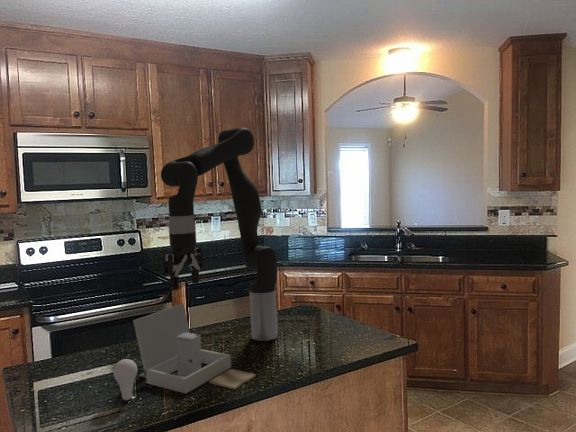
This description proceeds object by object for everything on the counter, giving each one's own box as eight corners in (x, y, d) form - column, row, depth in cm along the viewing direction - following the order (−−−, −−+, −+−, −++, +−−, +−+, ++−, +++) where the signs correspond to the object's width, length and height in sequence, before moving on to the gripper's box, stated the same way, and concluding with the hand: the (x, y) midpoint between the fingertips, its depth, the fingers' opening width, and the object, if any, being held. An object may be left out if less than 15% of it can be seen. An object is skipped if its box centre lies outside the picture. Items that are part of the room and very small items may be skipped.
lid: (193, 347, 157) (190, 347, 158) (183, 303, 157) (180, 303, 158) (145, 369, 140) (142, 370, 141) (134, 320, 140) (131, 320, 141)
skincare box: (177, 376, 144) (174, 336, 143) (187, 370, 148) (185, 331, 147) (193, 379, 141) (190, 339, 140) (203, 374, 145) (201, 334, 144)
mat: (231, 370, 147) (230, 368, 147) (255, 376, 142) (255, 374, 142) (209, 383, 138) (209, 381, 138) (234, 389, 134) (234, 387, 134)
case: (194, 359, 157) (193, 347, 157) (231, 367, 149) (230, 354, 149) (146, 383, 140) (145, 369, 140) (185, 393, 132) (185, 379, 132)
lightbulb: (142, 394, 133) (139, 355, 132) (135, 404, 127) (133, 363, 126) (119, 395, 133) (116, 356, 132) (112, 406, 127) (109, 364, 126)
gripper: (189, 228, 149) (192, 280, 151) (154, 233, 137) (158, 290, 139) (208, 228, 146) (211, 282, 147) (174, 234, 133) (177, 292, 135)
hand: (185, 286), depth 143 cm, fingers open, 8 cm apart
